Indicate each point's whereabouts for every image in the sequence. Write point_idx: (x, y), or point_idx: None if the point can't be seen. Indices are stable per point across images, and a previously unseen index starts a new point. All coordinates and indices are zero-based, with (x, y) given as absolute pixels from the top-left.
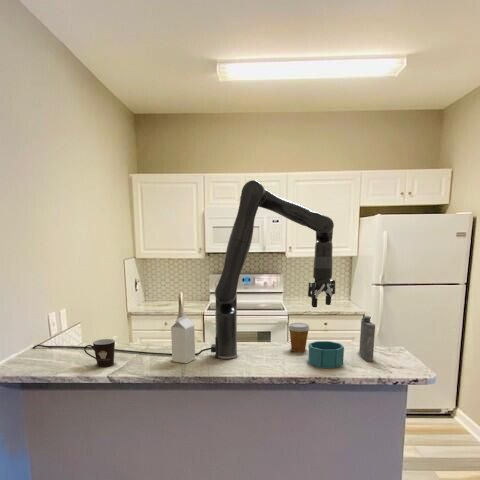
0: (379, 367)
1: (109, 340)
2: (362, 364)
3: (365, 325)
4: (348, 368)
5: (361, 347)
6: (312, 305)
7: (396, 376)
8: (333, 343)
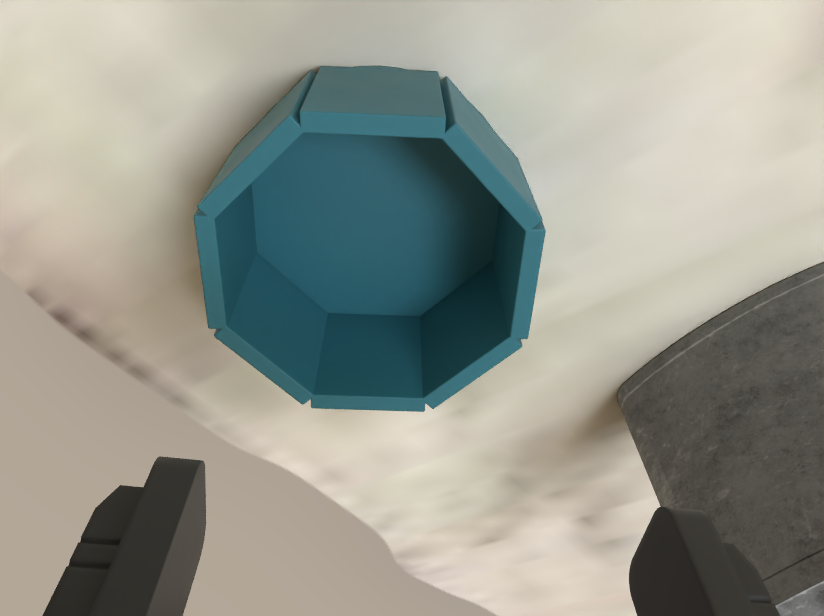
0: (536, 479)
1: None
2: (529, 396)
3: (783, 573)
4: None
5: (749, 358)
6: (115, 508)
7: (445, 573)
8: (517, 273)
